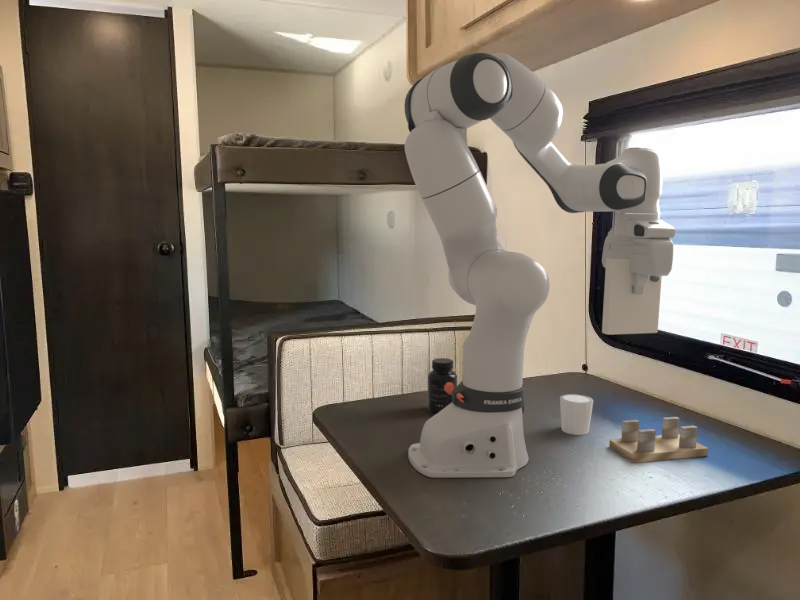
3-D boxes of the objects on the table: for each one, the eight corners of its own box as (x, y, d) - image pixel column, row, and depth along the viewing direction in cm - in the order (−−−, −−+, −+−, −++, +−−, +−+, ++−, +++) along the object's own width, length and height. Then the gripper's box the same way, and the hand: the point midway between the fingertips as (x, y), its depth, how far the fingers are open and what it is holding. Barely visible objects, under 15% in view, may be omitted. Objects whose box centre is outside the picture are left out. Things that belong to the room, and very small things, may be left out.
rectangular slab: (610, 335, 130) (614, 259, 127) (601, 332, 133) (606, 258, 130) (660, 333, 132) (665, 259, 130) (651, 330, 135) (656, 258, 133)
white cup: (568, 422, 136) (570, 391, 135) (597, 430, 131) (599, 398, 130) (552, 429, 131) (553, 398, 130) (581, 438, 126) (583, 405, 125)
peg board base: (633, 462, 114) (634, 434, 113) (609, 446, 122) (610, 420, 121) (707, 455, 118) (710, 428, 117) (680, 440, 125) (682, 414, 125)
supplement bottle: (431, 404, 147) (431, 355, 146) (459, 407, 146) (460, 357, 144) (424, 413, 141) (425, 362, 139) (453, 416, 139) (454, 364, 137)
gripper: (596, 226, 139) (593, 287, 141) (652, 229, 119) (647, 300, 121) (621, 226, 140) (618, 286, 142) (681, 229, 121) (675, 299, 123)
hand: (632, 293), depth 132 cm, fingers closed on rectangular slab, 2 cm apart
